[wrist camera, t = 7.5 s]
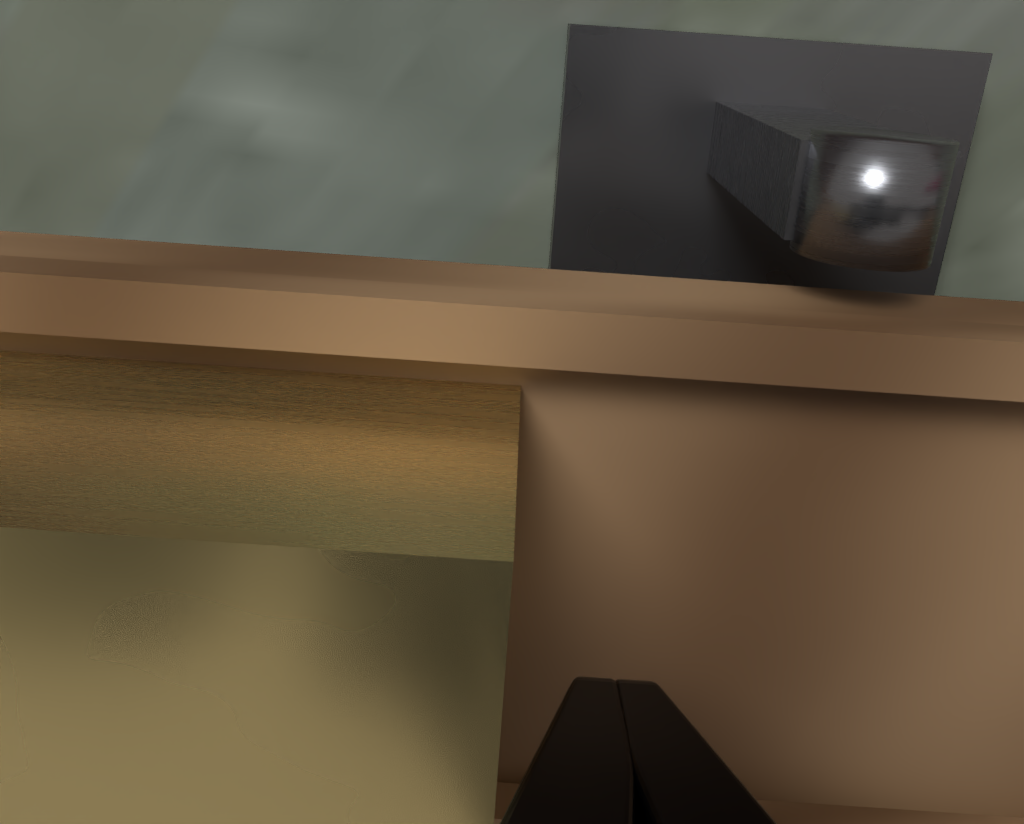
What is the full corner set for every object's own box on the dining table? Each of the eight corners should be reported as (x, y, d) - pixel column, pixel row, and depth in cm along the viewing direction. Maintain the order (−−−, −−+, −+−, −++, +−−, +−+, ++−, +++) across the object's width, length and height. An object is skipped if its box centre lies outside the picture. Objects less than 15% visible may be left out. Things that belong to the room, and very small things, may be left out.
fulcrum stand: (968, 52, 14) (1264, 75, 8) (817, 698, 19) (943, 997, 13) (568, 23, 14) (593, 27, 8) (515, 679, 19) (508, 970, 13)
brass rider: (520, 385, 10) (513, 561, 7) (493, 757, 12) (479, 1034, 9) (-242, 333, 10) (-617, 485, 7) (-146, 715, 12) (-401, 975, 9)
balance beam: (2182, 381, 11) (2904, 541, 7) (1810, 851, 13) (2220, 1120, 10) (-523, 194, 10) (-994, 274, 7) (-344, 704, 13) (-631, 929, 10)
